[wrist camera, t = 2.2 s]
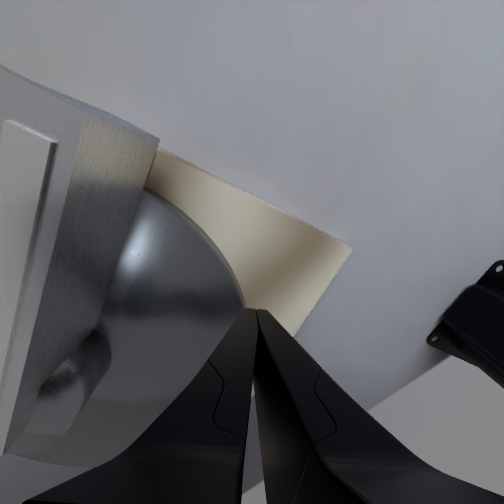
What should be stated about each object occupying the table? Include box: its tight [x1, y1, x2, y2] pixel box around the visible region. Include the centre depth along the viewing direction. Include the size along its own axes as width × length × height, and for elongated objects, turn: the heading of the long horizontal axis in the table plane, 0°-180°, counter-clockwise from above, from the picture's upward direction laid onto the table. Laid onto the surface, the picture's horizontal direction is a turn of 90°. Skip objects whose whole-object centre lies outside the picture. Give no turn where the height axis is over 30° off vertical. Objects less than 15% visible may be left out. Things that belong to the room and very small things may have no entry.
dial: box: [0, 68, 246, 467], centre depth 9 cm, size 19×17×5 cm
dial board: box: [0, 65, 352, 399], centre depth 13 cm, size 20×20×2 cm
